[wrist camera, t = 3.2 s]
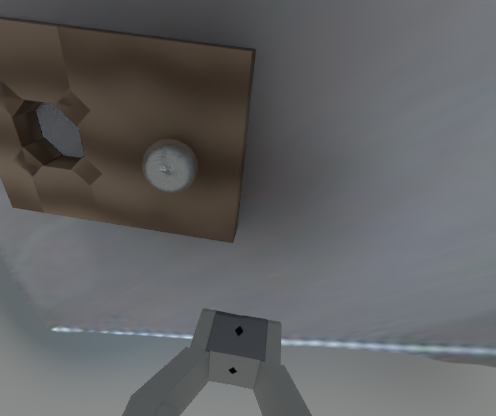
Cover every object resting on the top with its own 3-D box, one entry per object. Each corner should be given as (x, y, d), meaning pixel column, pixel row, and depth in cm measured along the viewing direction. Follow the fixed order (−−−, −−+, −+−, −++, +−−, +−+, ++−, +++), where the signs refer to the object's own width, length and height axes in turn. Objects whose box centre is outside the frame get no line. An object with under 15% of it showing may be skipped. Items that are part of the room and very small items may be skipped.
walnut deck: (-32, 12, 22) (-67, 10, 20) (255, 49, 21) (251, 51, 18) (32, 195, 30) (12, 207, 28) (237, 227, 29) (233, 242, 27)
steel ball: (153, 128, 22) (128, 145, 19) (204, 135, 22) (188, 154, 18) (156, 174, 24) (135, 198, 21) (203, 181, 24) (189, 206, 21)
